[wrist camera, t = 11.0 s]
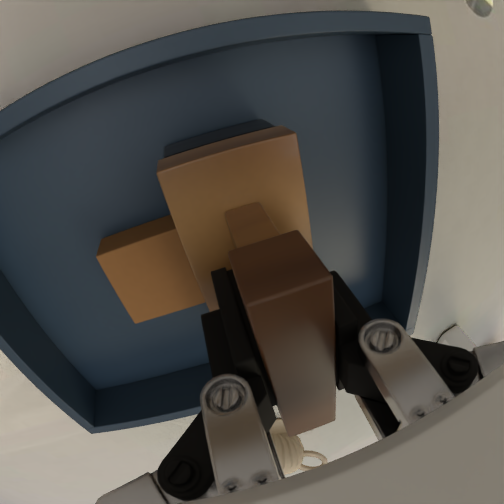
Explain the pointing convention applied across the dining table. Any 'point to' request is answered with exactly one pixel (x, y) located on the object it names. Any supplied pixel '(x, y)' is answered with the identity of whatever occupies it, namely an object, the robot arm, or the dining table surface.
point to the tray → (155, 206)
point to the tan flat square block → (150, 270)
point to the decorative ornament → (291, 449)
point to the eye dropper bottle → (457, 339)
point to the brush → (260, 254)
